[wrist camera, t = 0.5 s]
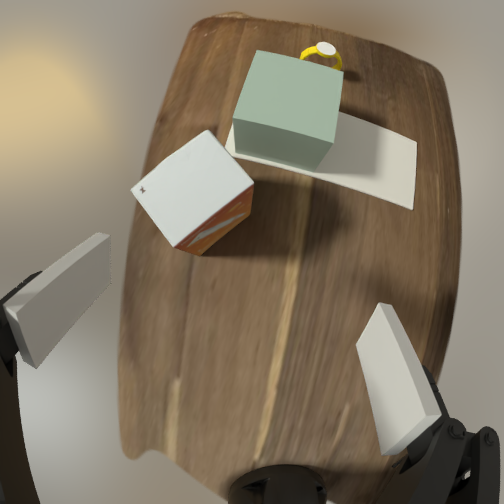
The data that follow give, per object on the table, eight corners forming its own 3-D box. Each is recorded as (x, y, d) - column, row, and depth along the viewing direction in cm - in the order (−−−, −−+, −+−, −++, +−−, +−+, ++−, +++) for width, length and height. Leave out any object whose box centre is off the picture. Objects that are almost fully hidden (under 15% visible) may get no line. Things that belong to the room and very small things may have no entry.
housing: (313, 172, 34) (333, 143, 25) (235, 153, 34) (232, 117, 25) (324, 109, 35) (343, 72, 26) (254, 92, 35) (256, 50, 26)
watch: (333, 69, 36) (346, 47, 30) (335, 82, 36) (349, 59, 30) (296, 62, 35) (305, 37, 30) (296, 75, 35) (306, 50, 29)
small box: (199, 257, 34) (171, 250, 21) (168, 217, 34) (127, 188, 21) (252, 214, 34) (256, 182, 21) (219, 175, 34) (206, 126, 21)
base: (411, 210, 35) (413, 209, 34) (222, 155, 34) (222, 153, 34) (415, 143, 35) (417, 141, 35) (244, 88, 35) (244, 86, 34)
